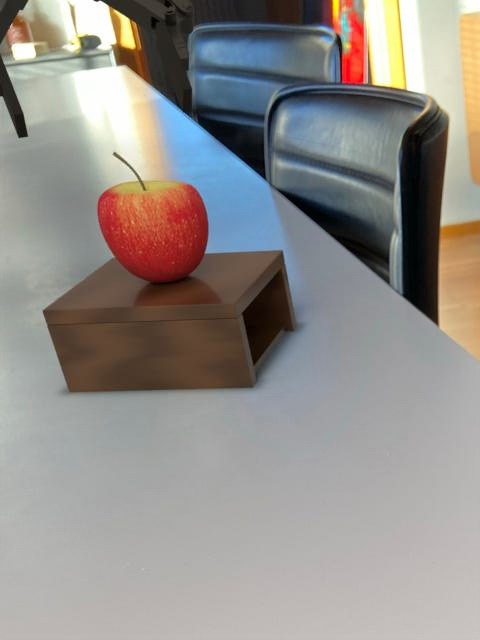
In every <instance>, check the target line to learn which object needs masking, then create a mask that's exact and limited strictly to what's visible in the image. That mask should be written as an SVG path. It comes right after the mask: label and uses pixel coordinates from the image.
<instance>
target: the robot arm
mask: <svg viewBox="0 0 480 640" xmlns="http://www.w3.org/2000/svg"><path fill="white" fill-rule="evenodd" d="M92 1H93V2H95V3H98V2H102V3H103V4H105V5H107V6H108V7H110V8H111V9H113V10H114V11H116V12H118V13H119V14H121V15H122V16H124V17H125V18H127V19H129V20H130V21H132V22H134V23H135V24H137V25H138V26H140V27H141V28H143V29H144V30H146V31H147V32H149V33H151V34H152V35H154V36H155V39H156V41H155V42H156V43H155V45H156V49H157V52H158V54H159V57H160V60H161V63H162V64H163V66H164V69H165V72H166V74H167V76H168V79H169V81H170V84H171V87H172V89H173V91H174V95H175V97H176V99H177V101H178V103H179V106H180V108H181V111H182V113H191V112H192V111H193V87H192V85H191V83H190V80H189V77H188V74H187V71H190V51H189V49H188V47H187V44H186V42H185V39H184V37H183V34H185V35H190V34H192V33H193V32H194V25H195V23H194V19H195V7H194V6H195V5H194V4H193V2H192V1H190V0H92ZM28 2H29V0H0V45H1V44H2V42H3V41H4V39H5V37H6V35H7V34H8V32H9V30H10V28H11V26H12V25H13V23H14V21H15V19H16V18H17V16H18V14H19V12H20V11H24V9H25V8H26V6H27V5H28ZM0 97H1V98H3V101H4V105H5V106H6V109H7V112H8V114H9V118H10V119H11V122H12V125H13V127H14V130H15V132H16V135H17V138H18V139H23V138H29V133H28V129H27V124H26V118H25V113H24V110H23V109H22V106H21V103H20V100H19V97H18V95H17V92H16V91H15V87H14V85H13V82H12V80H11V78H10V75H9V71H8V70H7V67H6V65H5V61H4V59H3V57H2V54H1V53H0Z"/></svg>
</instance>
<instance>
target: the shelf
mask: <svg viewBox="0 0 480 640" xmlns="http://www.w3.org/2000/svg"><path fill="white" fill-rule="evenodd" d="M42 314H43V318H44V320H45V323H46V328H47V330H48V333H49V336H50V339H51V342H52V344H53V348H54V350H55V353H56V357H57V360H58V363H59V366H60V368H61V369H60V370H61V371H62V374H63V377H64V381H65V384H66V387H67V390H68V393H95V392H97V393H99V392H136V391H140V392H141V391H174V390H175V391H177V390H210V389H211V390H213V389H215V390H216V389H250V388H251V389H252V388H254V387H255V386H256V384H257V383H258V380H257V377H256V375H257V373H258V372H259V370H260V369H261V368H262V367H263V366H264V364H265V362H266V361H267V360H268V358H269V357H270V356H271V354H272V353H273V352H274V350H275V349H277V348H276V347H277V346H278V345H279V344H280V343H281V341H282V339H283V338H284V337H285V335H286V334H287V333H288V332H294V331H295V330H296V329H297V328H298V326H297V320H296V314H295V309H294V304H293V298H292V293H291V288H290V283H289V277H288V271H287V266H286V260H285V255H284V251H283V249H277V250H276V249H275V250H252V251H250V250H249V251H233V252H231V251H230V252H210V253H209V252H208V253H206V252H205V254H204V257H203V259H202V261H201V263H200V264H199V266H198V267H197V268H196V269H195V270H194V271H193V272H192V273H191V274H189V275H188V276H186V277H184V278H182V279H180V280H177V281H172V282H166V283H155V282H150V281H146V280H143V279H140V278H138V277H136V276H134V275H133V274H131V273H130V272H129V271H128V270H126V269H125V268H124V267H123V266H122V265H121V264H120V262H119V261H118V260H117V259H116V257H112V258H110V259H108V260H107V261H106V262H105V263H104V264H102V265H101V266H100V267H98V268H97V269H96V270H94V271H93V272H92V273H90V274H89V275H87V276H86V277H84V279H82V280H81V281H79V283H77V284H76V285H74V286H73V287H72V288H71V289H69V290H68V291H66V292H65V293H64V294H62V295H61V296H60V297H58V298H57V299H55V301H53V302H52V303H50V304H49V305H47V306H46V307H45V308H43V309H42Z"/></svg>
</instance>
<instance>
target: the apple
mask: <svg viewBox="0 0 480 640" xmlns="http://www.w3.org/2000/svg"><path fill="white" fill-rule="evenodd" d="M112 156H114V157H115V158H116V159H118V160H119V161H120V162H121V163H123V164H124V165H125V166H127V167H128V168H129V169H130V170H131V172H132V173H133V174H134V175H135V177H136V179H137V180H134V181H126V182H121V183H119V184H115V185H113V186H112V187H109V188H108V189H106V190H105V191H103V192H102V193H101V194H100V195H99V198H98V200H97V205H96V209H97V210H96V214H97V222H98V225H99V229H100V231H101V234H102V237H103V239H104V242H105V243H106V245H107V247H108V249H109V250H110V252H111V253H112V255H113V257H114V258H116V259H117V260H118V261H119V262H120V264H121V265H122V266H123V267H124V268H125V269H126V270H128V271H129V272H130V273H131V274H133V275H134V276H136V277H138V278H140V279H143V280H146V281H150V282H155V283H166V282H172V281H177V280H180V279H182V278H184V277H186V276H188V275H189V274H191V273H192V272H193V271H194V270H195V269H196V268H197V267H198V266H199V264H200V263H201V261H202V259H203V257H204V254H206V250H207V246H208V241H209V232H210V231H209V230H210V229H209V226H210V225H209V217H208V216H209V215H208V212H207V208H206V205H205V203H204V199H203V197H202V196H201V194H200V192H199V191H198V189H197V188H196V187H194V185H192V184H190V183H187V182H183V181H172V180H142V179H141V176H140V174H138V171H136V169H135V168H134V167H133V166H132V165H131V164H130V163H129V162H128V161H127V160H125V158H124V157H122V156H121V155H120V154H119V153H117V152H116V151H113V153H112Z"/></svg>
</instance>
